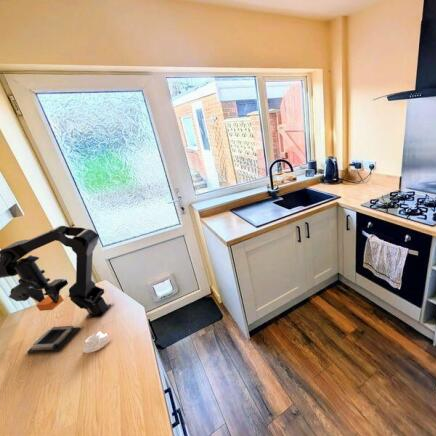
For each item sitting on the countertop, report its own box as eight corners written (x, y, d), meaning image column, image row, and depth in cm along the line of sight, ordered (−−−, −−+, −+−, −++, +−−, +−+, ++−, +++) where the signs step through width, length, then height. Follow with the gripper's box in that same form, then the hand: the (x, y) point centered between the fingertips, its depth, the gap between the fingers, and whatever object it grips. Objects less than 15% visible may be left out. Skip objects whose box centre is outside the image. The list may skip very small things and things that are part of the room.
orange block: (64, 300, 104) (60, 294, 103) (52, 310, 99) (48, 304, 98) (51, 301, 105) (48, 295, 103) (39, 310, 100) (35, 305, 98)
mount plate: (80, 329, 98) (77, 324, 97) (59, 351, 89) (55, 347, 88) (52, 330, 99) (49, 326, 98) (28, 353, 90) (24, 349, 88)
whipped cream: (88, 359, 86) (81, 351, 83) (81, 349, 89) (74, 341, 87) (113, 341, 91) (107, 333, 89) (105, 332, 95) (99, 324, 92)
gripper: (-17, 288, 88) (9, 320, 95) (32, 284, 87) (54, 317, 94) (15, 269, 98) (36, 299, 105) (59, 266, 97) (77, 296, 104)
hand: (50, 303), depth 101 cm, fingers closed on orange block, 5 cm apart
